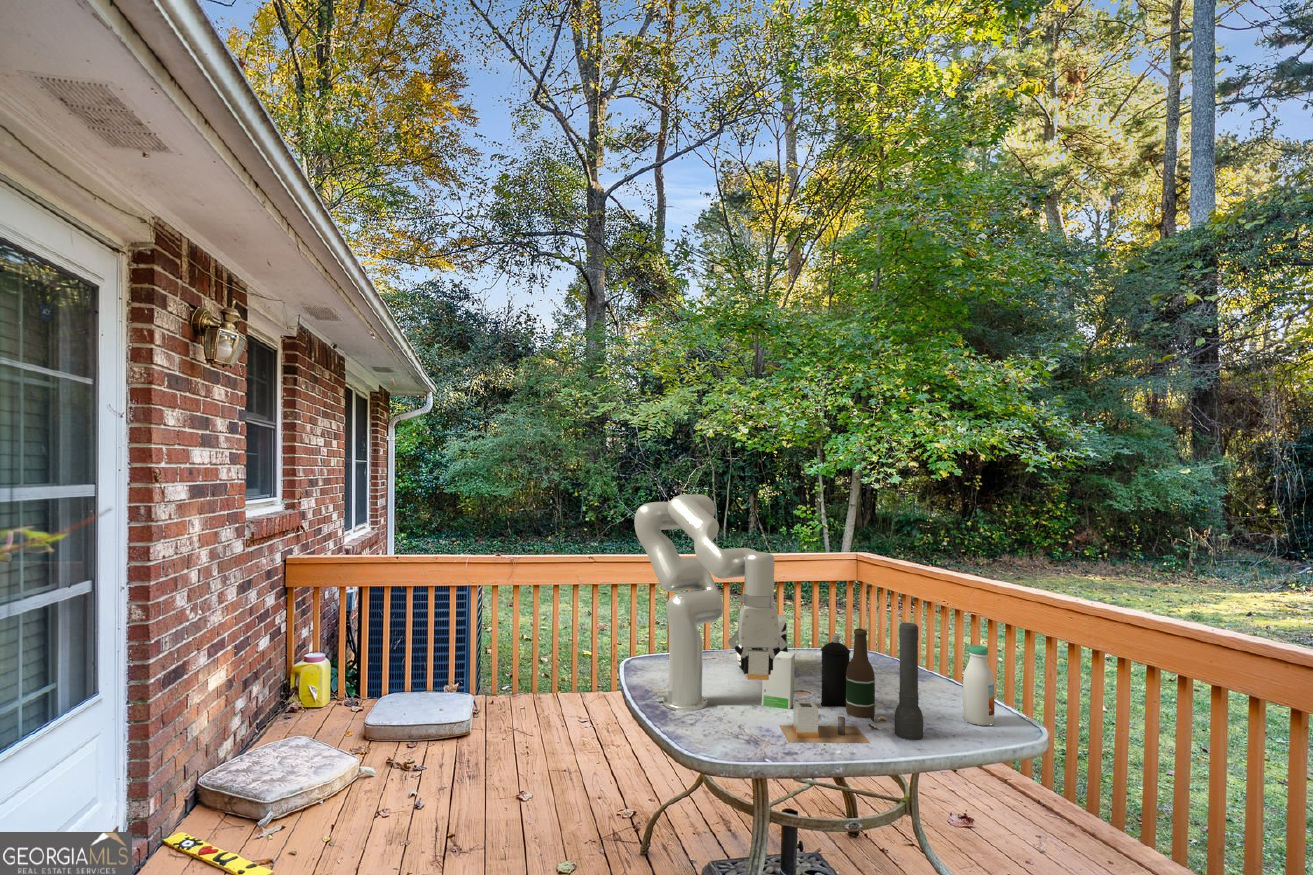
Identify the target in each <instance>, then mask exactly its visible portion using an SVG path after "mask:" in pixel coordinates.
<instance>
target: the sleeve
mask: <svg viewBox="0 0 1313 875" xmlns="http://www.w3.org/2000/svg"><path fill="white" fill-rule="evenodd" d="M746 655H747V658H748V668H747V674H744V675H745V676H746V678H747V680H751V681H753V680H754V681H757V680H758V681H763V680H769V674H768V666H769V651H768V650H767V648H749V649H748V651H747V654H746Z"/></svg>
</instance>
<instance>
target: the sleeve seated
mask: <svg viewBox="0 0 1313 875" xmlns="http://www.w3.org/2000/svg"><path fill="white" fill-rule="evenodd" d="M792 716H793V724H792V725H793V731H794V733H795V735H796V736H797V738H819V733H818V726H819V707H818V706H817V705H816V704H815V702H814V701H793V715H792Z"/></svg>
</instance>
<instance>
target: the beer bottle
mask: <svg viewBox="0 0 1313 875" xmlns="http://www.w3.org/2000/svg"><path fill="white" fill-rule="evenodd" d="M853 634H854V639H853V651H852V652H853V653H852V658H851V659H850V660H849V664H848V667H847V671H846V707H845V711H846V714H847V715H848V716H851V717H854V718H855V719H856V718H857V719H870V720H871V721H872V722H875V719H876V718H875V716H876V708H875V707H876V677H875V671H874V668H873V666H872V664H871V662H870V661H869V656H868V642H867V641H868V640H867V639H868V638H867V635H868V631H867V629H865V628H858V627H857V628H854V630H853Z"/></svg>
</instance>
